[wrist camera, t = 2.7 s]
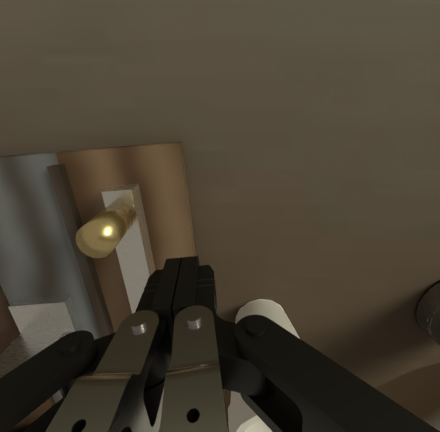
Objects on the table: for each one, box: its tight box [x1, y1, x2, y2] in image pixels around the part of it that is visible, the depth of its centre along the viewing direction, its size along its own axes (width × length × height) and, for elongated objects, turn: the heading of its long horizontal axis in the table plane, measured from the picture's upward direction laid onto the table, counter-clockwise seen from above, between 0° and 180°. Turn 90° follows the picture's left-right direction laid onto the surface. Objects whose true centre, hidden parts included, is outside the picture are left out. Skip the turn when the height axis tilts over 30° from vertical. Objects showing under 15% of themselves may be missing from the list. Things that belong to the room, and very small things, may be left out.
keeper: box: [0, 295, 81, 378], centre depth 26 cm, size 6×7×6 cm
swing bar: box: [76, 184, 155, 314], centre depth 21 cm, size 16×4×7 cm, turn 4°
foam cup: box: [228, 299, 300, 432], centre depth 25 cm, size 10×9×13 cm
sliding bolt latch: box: [0, 142, 196, 403], centre depth 28 cm, size 21×34×3 cm, turn 4°
